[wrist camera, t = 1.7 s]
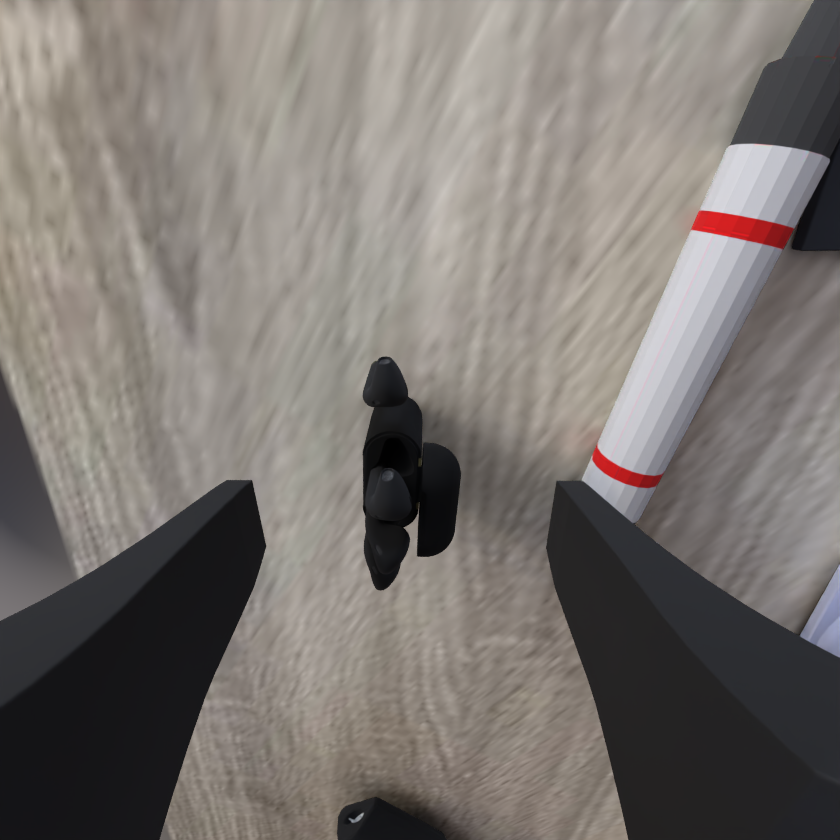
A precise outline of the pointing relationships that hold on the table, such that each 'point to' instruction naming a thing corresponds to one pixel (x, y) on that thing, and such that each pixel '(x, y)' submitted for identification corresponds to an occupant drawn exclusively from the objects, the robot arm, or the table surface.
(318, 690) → the table surface
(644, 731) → the robot arm
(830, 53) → the marker
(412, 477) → the wireless earbuds
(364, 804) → the electric trimmer
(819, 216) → the coaster
